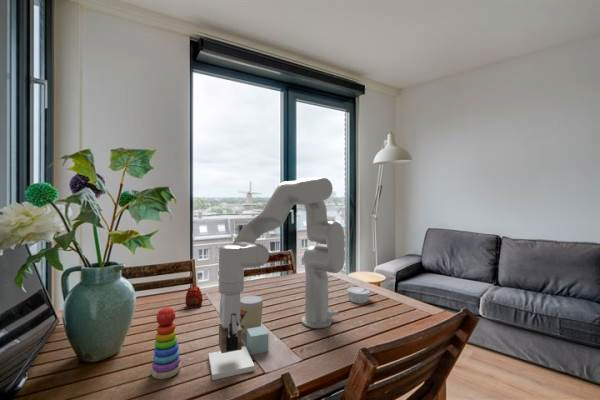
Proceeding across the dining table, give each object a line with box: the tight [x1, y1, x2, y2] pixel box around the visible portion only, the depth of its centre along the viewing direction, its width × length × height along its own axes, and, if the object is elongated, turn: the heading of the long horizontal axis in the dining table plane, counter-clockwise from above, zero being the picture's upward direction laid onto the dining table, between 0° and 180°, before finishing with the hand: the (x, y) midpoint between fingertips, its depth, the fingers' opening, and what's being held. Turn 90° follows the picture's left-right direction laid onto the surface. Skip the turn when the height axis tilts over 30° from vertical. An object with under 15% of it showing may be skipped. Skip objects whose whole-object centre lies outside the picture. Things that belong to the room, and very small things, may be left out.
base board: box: [208, 345, 255, 381], centre depth 88 cm, size 12×12×2 cm
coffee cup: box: [240, 294, 264, 336], centre depth 111 cm, size 9×9×12 cm
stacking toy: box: [151, 307, 182, 380], centre depth 84 cm, size 8×8×19 cm
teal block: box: [246, 325, 269, 355], centre depth 97 cm, size 6×6×6 cm
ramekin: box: [346, 286, 371, 304], centre depth 145 cm, size 11×11×5 cm
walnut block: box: [218, 324, 243, 353], centre depth 88 cm, size 6×6×6 cm
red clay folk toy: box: [185, 274, 204, 309], centre depth 135 cm, size 8×7×15 cm
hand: (230, 343), depth 88 cm, fingers closed on walnut block, 5 cm apart
